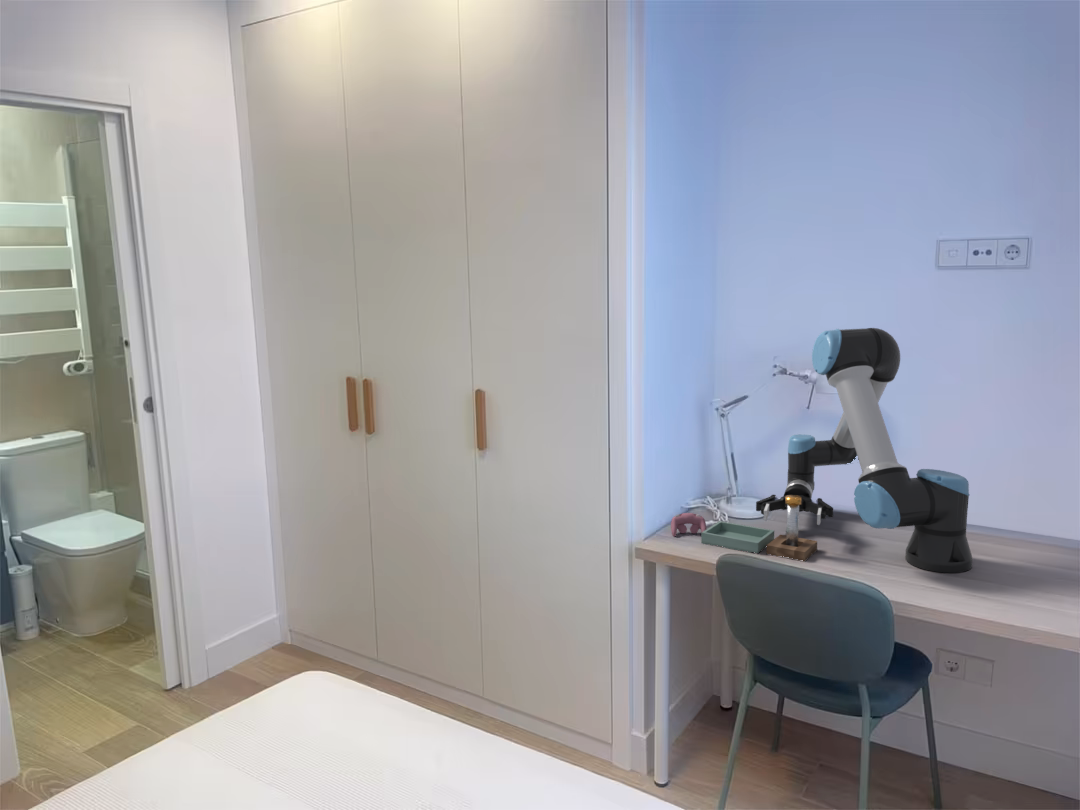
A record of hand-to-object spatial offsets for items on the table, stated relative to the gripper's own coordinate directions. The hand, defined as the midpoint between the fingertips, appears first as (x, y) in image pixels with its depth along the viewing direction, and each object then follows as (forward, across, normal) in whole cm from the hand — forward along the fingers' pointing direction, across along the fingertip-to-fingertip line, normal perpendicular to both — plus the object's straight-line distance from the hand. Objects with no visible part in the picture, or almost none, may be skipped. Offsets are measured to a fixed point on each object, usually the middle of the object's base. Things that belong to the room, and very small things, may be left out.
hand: (791, 517), depth 218 cm
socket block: (+3, 0, -8) cm, 9 cm away
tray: (0, +14, -8) cm, 16 cm away
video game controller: (-3, +28, -9) cm, 30 cm away
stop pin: (+3, 0, -8) cm, 9 cm away
